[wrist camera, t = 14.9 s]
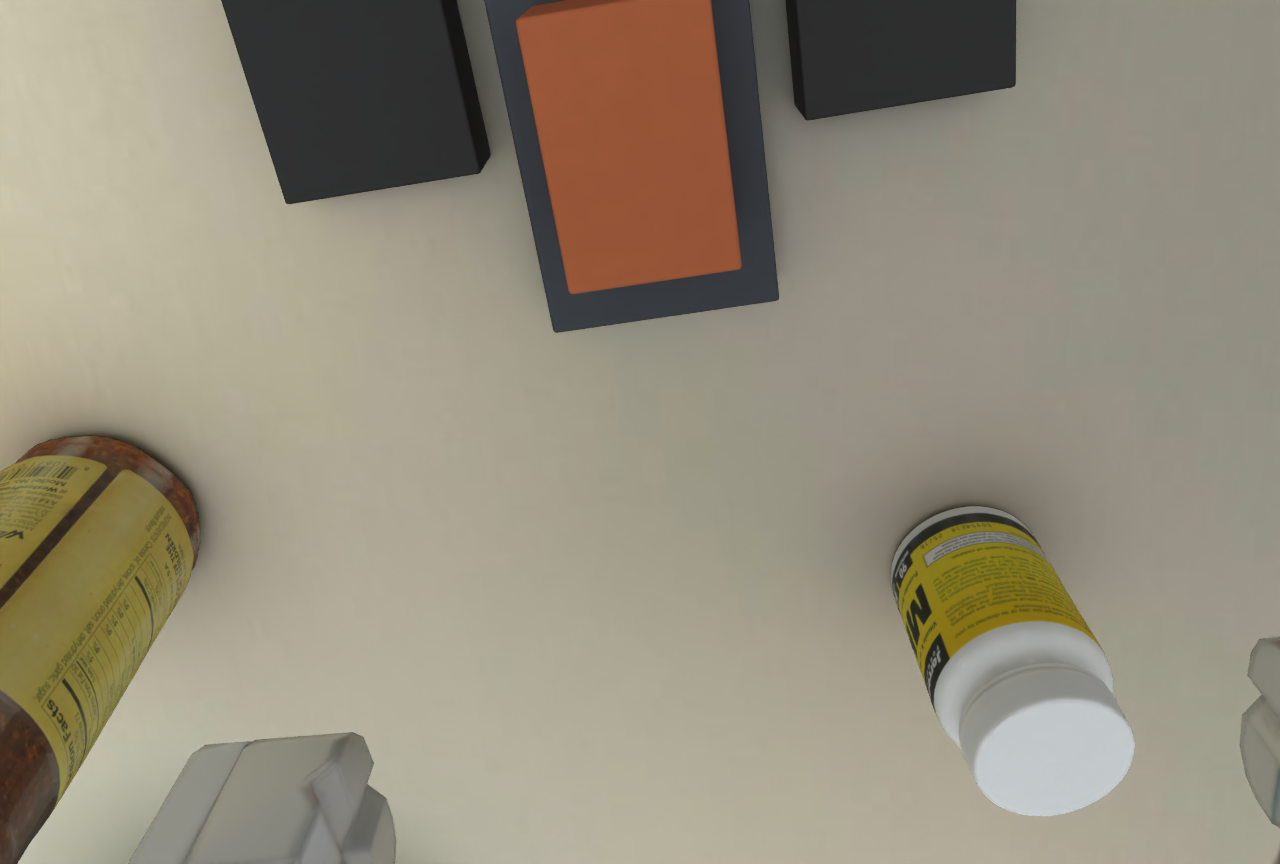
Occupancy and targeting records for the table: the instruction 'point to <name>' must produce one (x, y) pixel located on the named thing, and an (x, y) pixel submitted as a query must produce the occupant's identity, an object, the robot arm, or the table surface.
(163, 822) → the robot arm
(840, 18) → the base pad
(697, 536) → the table surface
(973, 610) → the supplement bottle
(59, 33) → the table surface
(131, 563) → the sauce bottle
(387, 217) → the table surface
